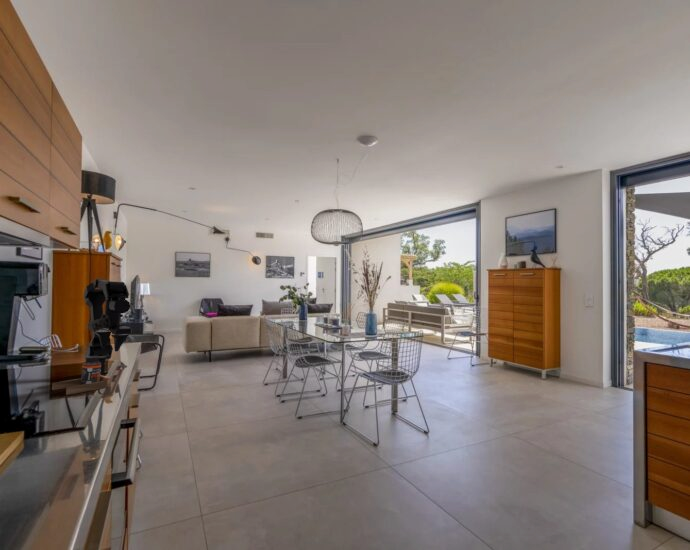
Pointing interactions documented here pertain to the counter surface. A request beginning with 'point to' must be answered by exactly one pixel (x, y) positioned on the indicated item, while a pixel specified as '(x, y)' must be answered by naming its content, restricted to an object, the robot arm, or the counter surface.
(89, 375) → the supplement bottle
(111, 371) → the counter surface
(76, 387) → the comb channel
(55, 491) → the counter surface
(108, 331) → the robot arm
